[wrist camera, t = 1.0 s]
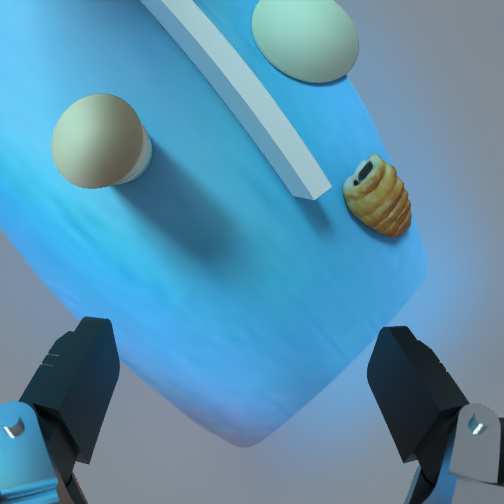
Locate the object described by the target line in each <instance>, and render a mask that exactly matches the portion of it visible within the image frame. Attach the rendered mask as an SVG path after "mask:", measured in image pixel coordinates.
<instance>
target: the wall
mask: <svg viewBox="0 0 504 504" xmlns="http://www.w3.org/2000/svg"><path fill="white" fill-rule="evenodd" d="M140 1H141V2H142V4H143V5H144V6H145V7H146V8H147V9H148V10H149V11H150V12H151V14H152V15H153V16H154V17H155V18H156V19H157V20H158V22H159V23H160V24H161V25H162V26H163V27H164V28H165V30H166V31H167V32H168V33H169V34H170V35H171V37H172V38H173V39H174V40H175V41H176V43H177V44H178V45H179V46H180V47H181V49H182V50H183V51H184V52H185V53H186V55H187V56H188V57H189V58H190V59H191V61H192V62H193V63H194V64H195V66H196V67H197V68H198V69H199V70H200V72H201V73H202V74H203V75H204V77H205V78H206V79H207V80H208V82H209V83H210V84H211V86H212V87H213V88H214V89H215V91H216V92H217V93H218V94H219V96H220V97H221V98H222V100H223V101H224V102H225V103H226V105H227V106H228V107H229V109H230V110H231V111H232V113H233V114H234V115H235V117H236V118H237V119H238V121H239V122H240V123H241V125H242V126H243V127H244V129H245V130H246V131H247V133H248V134H249V135H250V137H251V138H252V139H253V141H254V142H255V143H256V145H257V146H258V148H259V149H260V150H261V152H262V153H263V154H264V156H265V157H266V159H267V160H268V161H269V163H270V164H271V166H272V167H273V168H274V170H275V171H276V173H277V174H278V176H279V177H280V178H281V180H282V181H283V183H284V184H285V186H286V187H287V188H288V190H289V191H290V193H291V194H292V196H296V197H301V198H306V199H311V200H316V199H317V198H318V197H319V196H321V195H322V194H323V193H324V192H326V191H327V190H328V189H329V188H331V187H332V185H331V184H330V182H329V181H328V179H327V177H326V176H325V174H324V173H323V171H322V170H321V168H320V166H319V165H318V163H317V162H316V160H315V159H314V157H313V156H312V154H311V153H310V151H309V150H308V148H307V147H306V145H305V144H304V142H303V141H302V139H301V138H300V136H299V135H298V133H297V132H296V130H295V129H294V128H293V126H292V125H291V123H290V122H289V120H288V119H287V118H286V116H285V115H284V113H283V112H282V111H281V109H280V108H279V106H278V105H277V104H276V102H275V101H274V100H273V98H272V97H271V96H270V94H269V93H268V91H267V90H266V89H265V87H264V86H263V85H262V84H261V82H260V81H259V80H258V78H257V77H256V76H255V74H254V73H253V72H252V71H251V69H250V68H249V67H248V65H247V64H246V63H245V62H244V60H243V59H242V58H241V57H240V55H239V54H238V53H237V52H236V50H235V49H234V48H233V47H232V46H231V44H230V43H229V42H228V41H227V40H226V38H225V37H224V36H223V35H222V34H221V32H220V31H219V30H218V29H217V28H216V27H215V25H214V24H213V23H212V22H211V21H210V20H209V19H208V17H207V16H206V15H205V14H204V13H203V12H202V11H201V10H200V9H199V7H198V6H197V5H196V4H195V3H194V2H193V1H192V0H140Z"/></svg>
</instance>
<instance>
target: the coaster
mask: <svg viewBox="0 0 504 504" xmlns="http://www.w3.org/2000/svg"><path fill="white" fill-rule="evenodd" d="M251 30H252V35H253V38H254V41H255V43H256V45H257V47H258V49H259V50H260V52H261V53H262V55H263V56H264V57H265V58H266V59H267V60H268V61H269V62H270V63H271V64H272V65H273V66H274V67H275V68H277V69H278V70H280V71H281V72H283V73H284V74H286V75H288V76H290V77H292V78H295V79H298V80H301V81H305V82H310V83H325V82H330V81H333V80H336V79H338V78H340V77H342V76H344V75H345V74H346V73H348V72H349V70H350V69H351V68H352V67H353V66H354V64H355V62H356V59H357V56H358V50H359V41H358V35H357V32H356V29H355V27H354V25H353V23H352V21H351V19H350V18H349V16H348V15H347V13H346V12H345V11H344V10H343V9H342V8H341V7H340V6H339V5H338V4H337V3H336V2H334V1H333V0H260V1H259V2H258V4H257V5H256V7H255V9H254V11H253V14H252V19H251Z"/></svg>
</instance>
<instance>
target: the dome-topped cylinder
mask: <svg viewBox="0 0 504 504" xmlns="http://www.w3.org/2000/svg"><path fill="white" fill-rule="evenodd" d="M51 147H52V156H53V160H54V163H55V165H56V167H57V169H58V171H59V172H60V174H61V175H62V176H63V177H64V178H65V179H66V180H67V181H69V182H70V183H72V184H74V185H76V186H78V187H82V188H88V189H95V188H102V187H107V186H112V185H117V184H122V183H127V182H131V181H133V180H135V179H137V178H139V177H140V176H141V175H142V174H143V173H144V172H145V171H146V170H147V168H148V166H149V164H150V162H151V159H152V153H153V149H152V143H151V140H150V138H149V136H148V134H147V132H146V130H145V129H144V127H143V125H142V123H141V121H140V120H139V118H138V116H137V114H136V112H135V111H134V109H133V108H132V107H131V106H130V105H129V104H128V103H127V102H126V101H124V100H123V99H121V98H119V97H117V96H114V95H110V94H93V95H89V96H86V97H83V98H81V99H79V100H78V101H76V102H74V103H73V104H72V105H71V106H69V107H68V108H67V109H66V110H65V112H64V113H63V114H62V115H61V117H60V119H59V120H58V122H57V124H56V126H55V129H54V132H53V136H52V144H51Z"/></svg>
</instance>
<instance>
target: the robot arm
mask: <svg viewBox="0 0 504 504" xmlns="http://www.w3.org/2000/svg"><path fill="white" fill-rule="evenodd" d="M439 361H440V360H439V359H438V357H437V356H436V355H435V353H434V352H433V351H432V349H430V348H429V347H428V346H426V345H425V344H424V343H422V342H421V341H419V340H417V339H416V338H415V336H414V335H413V334H412V332H411V331H410V330H409V328H408V327H406V326H394V327H383V328H382V329H381V330H380V332H379V335H378V338H377V341H376V344H375V347H374V350H373V353H372V355H371V358H370V361H369V364H368V368H367V379H368V383H369V385H370V387H371V390H372V392H373V394H374V396H375V399H376V401H377V403H378V405H379V408H380V410H381V412H382V414H383V416H384V419H385V421H386V424H387V426H388V428H389V430H390V433H391V435H392V437H393V440H394V442H395V444H396V447H397V449H398V451H399V454H400V456H401V459H402V461H403V463H407V462H410V461H414V460H418V461H419V464H420V465H419V467H418V468H417V469H416V472H415V474H414V477H413V480H412V483H411V486H410V489H409V492H408V494H407V497H406V499H405V502H404V504H504V418H498V417H497V415H496V414H495V413H494V412H493V411H492V410H491V409H490V408H488V407H486V406H485V405H482V404H476V403H473V404H470V403H469V402H468V400H467V399H466V397H465V396H464V394H463V393H462V391H461V390H460V389H459V387H458V386H457V384H456V383H455V381H454V380H453V378H452V377H451V376H450V374H449V373H448V372H446V369H445V367H444V366H443V364H442V363H440V362H439ZM119 369H120V362H119V356H118V352H117V347H116V343H115V338H114V333H113V328H112V324H111V321H110V320H109V319H103V318H94V317H84V318H83V319H82V320H81V322H80V323H79V325H78V326H77V328H76V330H75V331H74V332H71V331H68V332H67V333H66V334H64V335H63V336H62V337H60V338H59V339H58V340H56V342H55V343H54V345H53V346H52V348H51V349H50V351H49V354H48V355H46V357H45V358H44V360H43V361H42V365H40V366H39V368H38V369H37V371H36V373H35V374H34V376H33V378H32V380H31V381H30V383H29V384H28V386H27V388H26V389H25V391H24V393H23V395H22V396H21V398H20V400H19V401H12V402H7V403H4V404H2V405H0V504H88V502H87V500H86V498H85V496H84V494H83V492H82V490H81V488H80V486H79V483H78V481H77V479H76V477H75V475H74V473H73V471H72V470H73V467H74V464H75V461H78V462H82V463H86V464H89V463H90V460H91V457H92V454H93V450H94V447H95V444H96V441H97V438H98V435H99V432H100V428H101V426H102V422H103V420H104V417H105V414H106V411H107V408H108V405H109V402H110V400H111V397H112V394H113V391H114V389H115V386H116V383H117V380H118V377H119V371H120V370H119Z"/></svg>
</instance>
